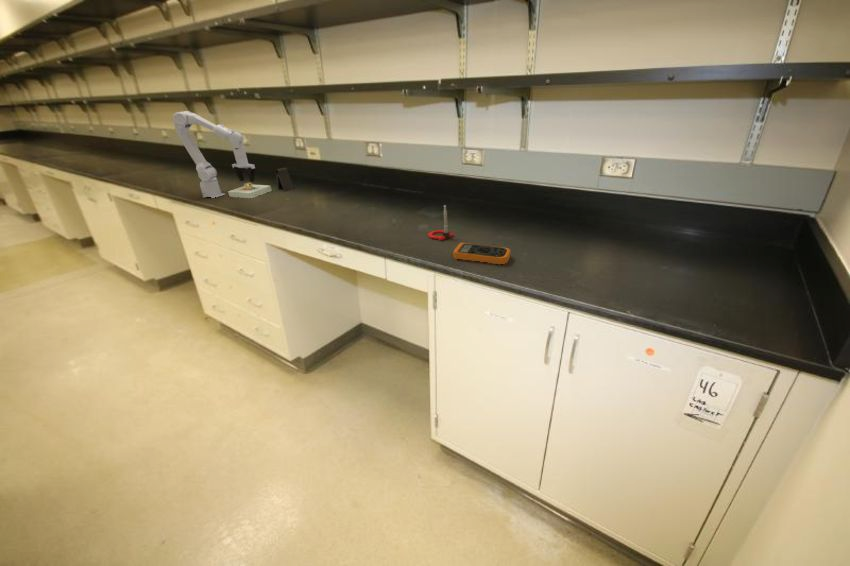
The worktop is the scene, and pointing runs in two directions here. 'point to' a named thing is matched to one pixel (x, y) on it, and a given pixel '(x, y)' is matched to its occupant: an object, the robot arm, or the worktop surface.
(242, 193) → the plate
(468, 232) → the worktop surface
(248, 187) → the cylinder
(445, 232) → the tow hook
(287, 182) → the phone stand
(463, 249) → the multimeter
